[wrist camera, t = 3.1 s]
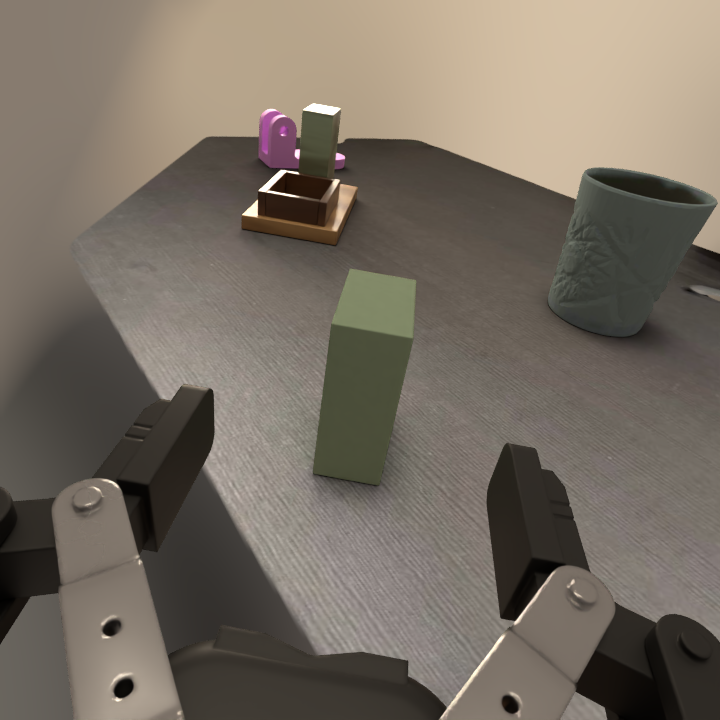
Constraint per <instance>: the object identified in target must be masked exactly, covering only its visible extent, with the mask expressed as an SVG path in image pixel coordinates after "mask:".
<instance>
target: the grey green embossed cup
mask: <svg viewBox="0 0 720 720" xmlns="http://www.w3.org/2000/svg"><path fill="white" fill-rule="evenodd" d="M717 204H718V203H717V200H716V199H715V198H714V197H713V196H711V195H710V194H708V193H706V192H704V191H702V190H700V189H697V188H695V187H692V186H689V185H686V184H684V183H681V182H677V181H674V180H670V179H667V178H664V177H660V176H655V175H651V174H647V173H642V172H637V171H631V170H624V169H614V168H591V169H587V170H586V171H585V172H584V174H583V176H582V180H581V183H580V187H579V191H578V196H577V199H576V203H575V207H574V214H573V216H572V218H571V222H570V224H569V228H568V233H567V234H566V238H565V240H566V243H565V244H564V245H563V248H562V249H563V251H562V254H561V256H560V258H559V264H558V266H557V269H556V273H555V277H554V280H553V283H552V286H551V289H550V292H549V296H548V304H549V306H550V308H551V310H552V311H553V312H554V313H555V314H557V315H558V316H559V317H561V318H562V319H564V320H565V321H567V322H569V323H571V324H573V325H575V326H577V327H579V328H582V329H585V330H587V331H590V332H594V333H598V334H602V335H607V336H617V337H626V336H631V335H633V334H636V333H637V332H638V331H639V330H640V329H641V328H642V326H643V325H644V323H645V321H646V319H647V318H648V316H649V314H650V313H651V311H652V309H653V304H654V302H656V301H657V300H658V299H659V297H660V294H661V293H662V292H663V291H664V290H665V288H666V287H667V284H668V281H670V280H671V278H672V277H673V275H674V273H675V272H676V270H677V267H678V266H679V264H680V262H681V261H682V259H683V258H684V256H685V253H686V252H687V250H688V249H689V247H690V246H691V245H692V243H693V241H694V239H695V238H696V236H697V235H698V234H699V232H700V230H701V229H702V227H703V226H704V224H705V223H706V221H707V219H708V218H709V216H710V215H711V213H712V211H713V210H714V208H715V207H716V205H717Z"/></svg>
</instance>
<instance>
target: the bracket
mask: <svg viewBox="0 0 720 720" xmlns="http://www.w3.org/2000/svg"><path fill="white" fill-rule="evenodd" d="M259 128H260V129H259V158H260V159H261V160H262V161H263V162H264V163H265V164H266V165H267V166H269V167H270V168H299V156H300V150H295V147H296V132H297V130H296V125H295V123H294V122H293V121H292V120H291V119H290V118H288V117H287V116H284V115H283V114H282V113H280V112H278V111H277V110H275V109H268V110H266V111H264V112H263V114H262V115H261V117H260V125H259ZM344 161H345V157H344V156H343V155H341V154H338V153H336V161H335V169H341V168H343V167H344Z"/></svg>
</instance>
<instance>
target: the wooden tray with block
mask: <svg viewBox="0 0 720 720" xmlns="http://www.w3.org/2000/svg"><path fill="white" fill-rule="evenodd" d="M340 114H341V108H335V107H330V106H324V105H318V104H312V105H310V106H308V107H307V108H305V109H304V110H303V113H302V129H301V141H300V156H299V170H298V172H292V171H286V170H280V171H279V172H278V173H277V174H276V175H275V176H274V177H273V178H272V179H271V180H270V181H269V182H267V183H266V184H265V185H264V186H263V187H262V188H261V189H260V190H259V191H258V200H257V201H256V202H255V203H254V204H253V205H252V206H250V207H249V208H248V209H247V210H246V211H245V212H244V213H243V214H242V229H247V230H252V231H258V232H264V233H269V234H275V235H281V236H286V237H292V238H298V239H303V240H309V241H314V242H320V243H326V244H331V245H336V243H337V241H338V239H339V236H340V234H341V232H342V229H343V227H344V225H345V223H346V220H347V218H348V216H349V213H350V211H351V209H352V207H353V204H354V202H355V200H356V197H357V190H358V187H354V186H349V185H343V184H340V182H341V180H337V179H334V170H335V161H336V151H337V142H338V133H339V124H340Z"/></svg>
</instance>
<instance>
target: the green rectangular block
mask: <svg viewBox="0 0 720 720" xmlns="http://www.w3.org/2000/svg"><path fill="white" fill-rule="evenodd" d="M415 297H416V280H411V279H406V278H400V277H394V276H389V275H383V274H378V273H372V272H366V271H361V270H355V269H350V270H349V273H348V276H347V279H346V282H345V285H344V288H343V291H342V294H341V297H340V300H339V303H338V306H337V309H336V312H335V315H334V318H333V321H332V324H331V331H330V339H329V347H328V355H327V363H326V371H325V379H324V387H323V395H322V403H321V411H320V419H319V427H318V435H317V442H316V450H315V458H314V466H313V474H318V475H323V476H329V477H334V478H340V479H345V480H350V481H356V482H361V483H366V484H372V485H377V486H379V484H380V480H381V476H382V472H383V467H384V463H385V459H386V454H387V450H388V446H389V441H390V437H391V433H392V429H393V424H394V420H395V416H396V411H397V407H398V403H399V398H400V394H401V390H402V385H403V381H404V377H405V373H406V368H407V364H408V360H409V355H410V351H411V347H412V342H413V336H414V316H415Z"/></svg>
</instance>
